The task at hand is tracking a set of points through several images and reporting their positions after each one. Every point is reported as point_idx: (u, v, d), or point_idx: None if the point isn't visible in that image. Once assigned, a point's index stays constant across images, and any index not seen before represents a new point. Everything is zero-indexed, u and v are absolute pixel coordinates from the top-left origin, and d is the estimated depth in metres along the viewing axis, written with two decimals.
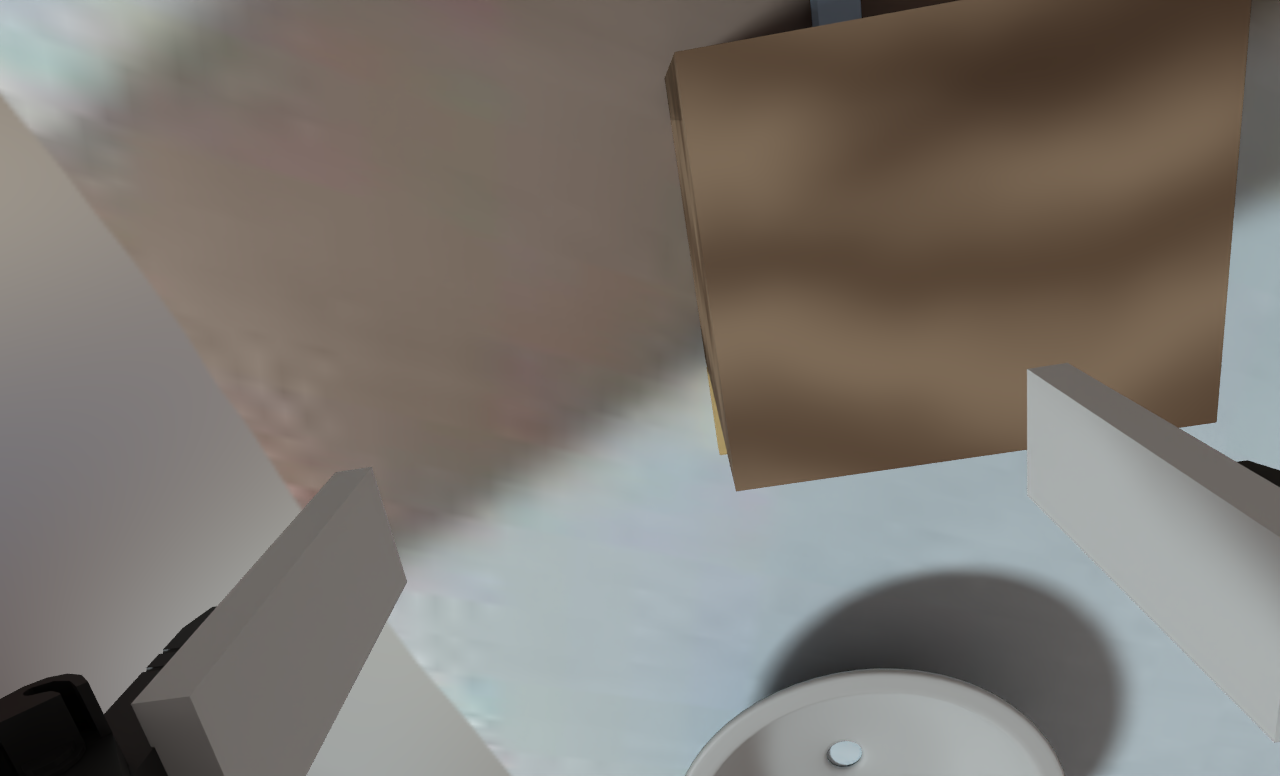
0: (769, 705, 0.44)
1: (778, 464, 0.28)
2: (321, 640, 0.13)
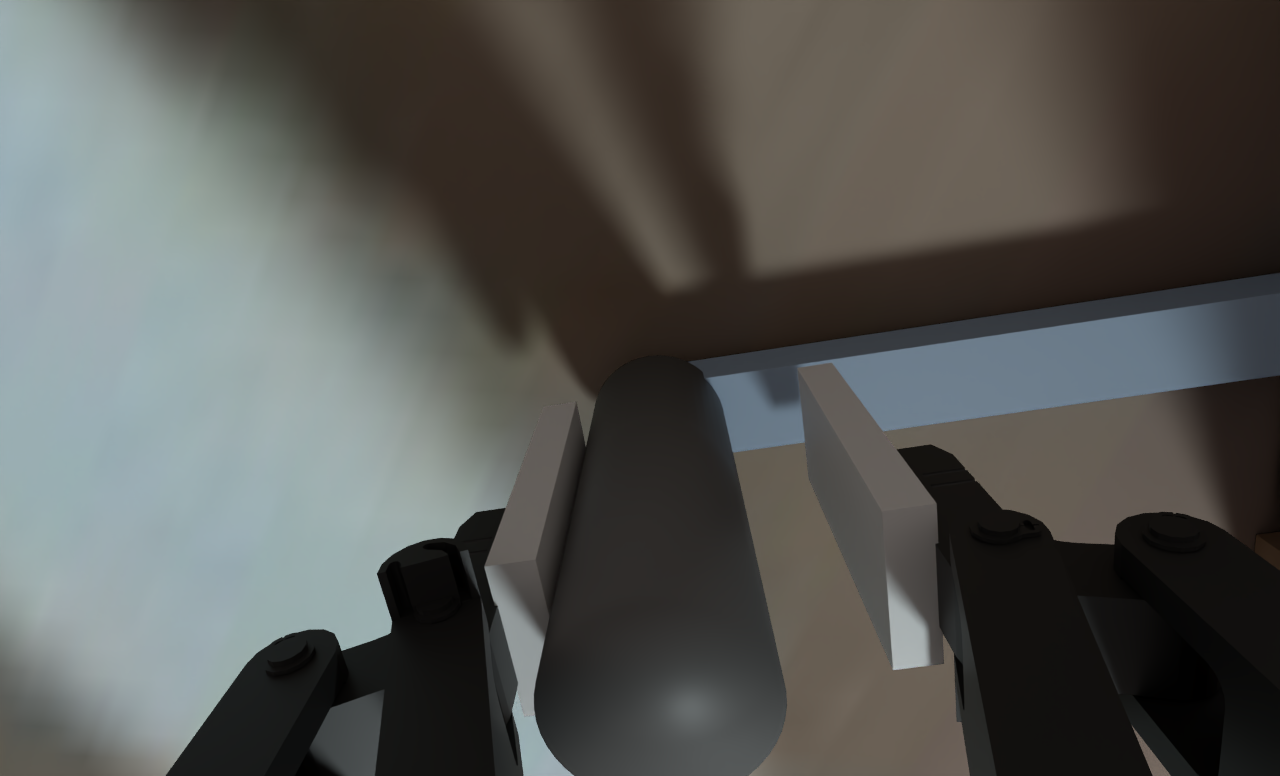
0: None
1: None
2: None
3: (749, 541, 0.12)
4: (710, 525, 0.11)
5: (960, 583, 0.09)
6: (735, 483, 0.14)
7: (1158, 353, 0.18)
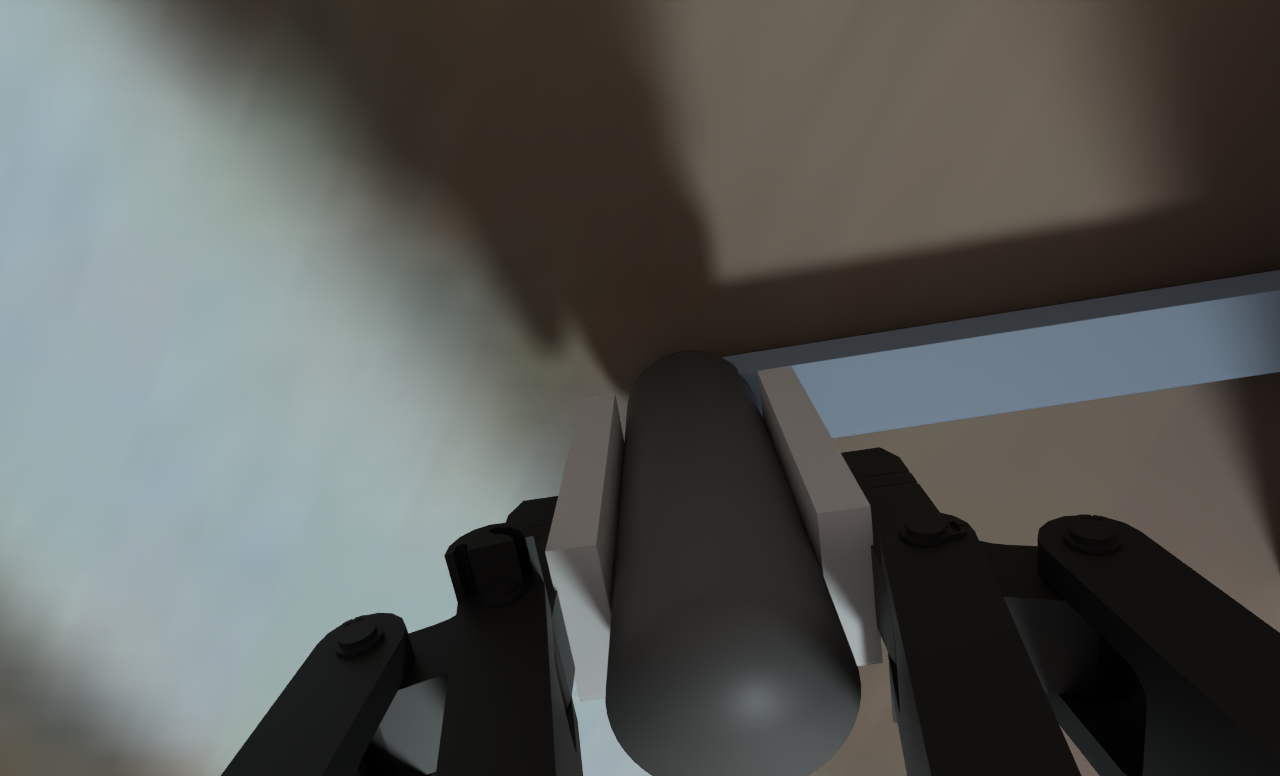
0: None
1: None
2: None
3: (806, 534, 0.12)
4: (773, 517, 0.11)
5: (891, 586, 0.09)
6: (784, 477, 0.14)
7: (1192, 345, 0.18)
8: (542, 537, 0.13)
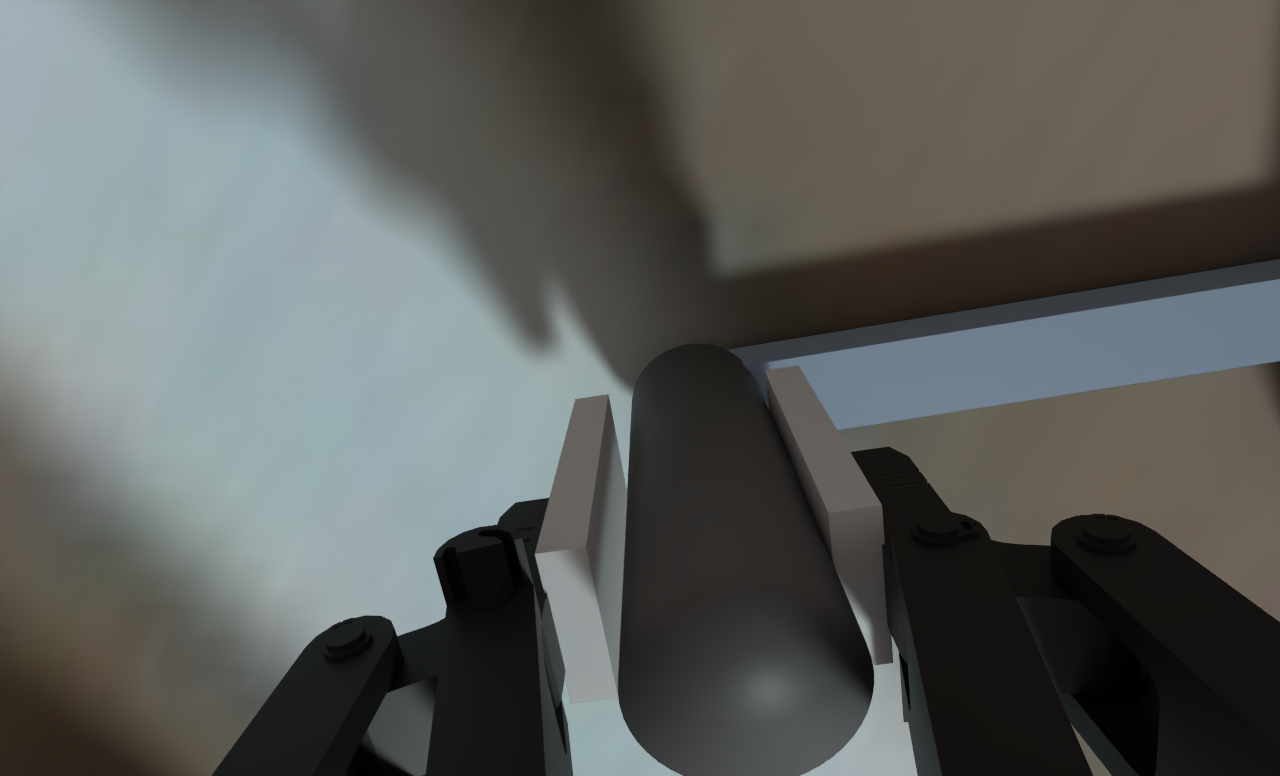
0: None
1: None
2: (612, 531, 0.14)
3: (815, 523, 0.12)
4: (782, 507, 0.11)
5: (903, 585, 0.09)
6: (792, 467, 0.14)
7: (1197, 334, 0.18)
8: (533, 539, 0.13)
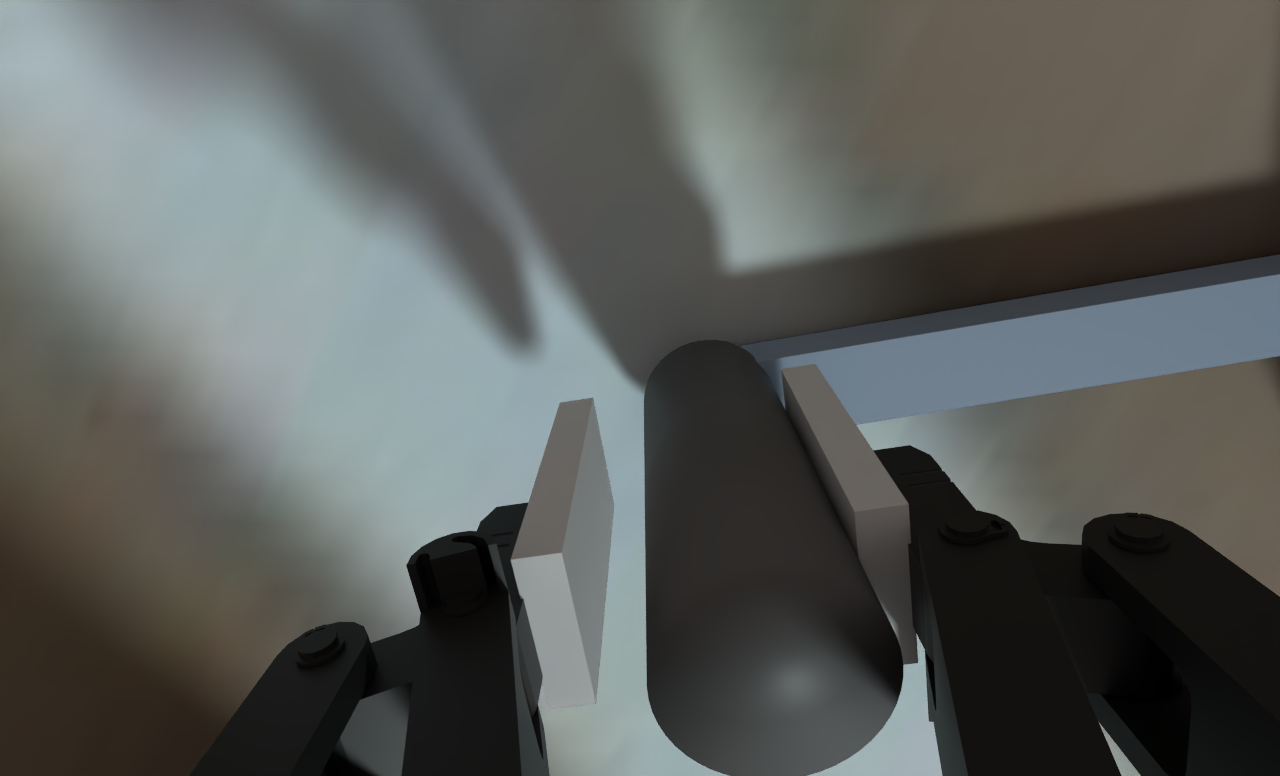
0: None
1: None
2: (593, 536, 0.14)
3: (837, 517, 0.12)
4: (806, 500, 0.11)
5: (930, 584, 0.09)
6: (810, 462, 0.14)
7: (1208, 328, 0.18)
8: (512, 544, 0.13)
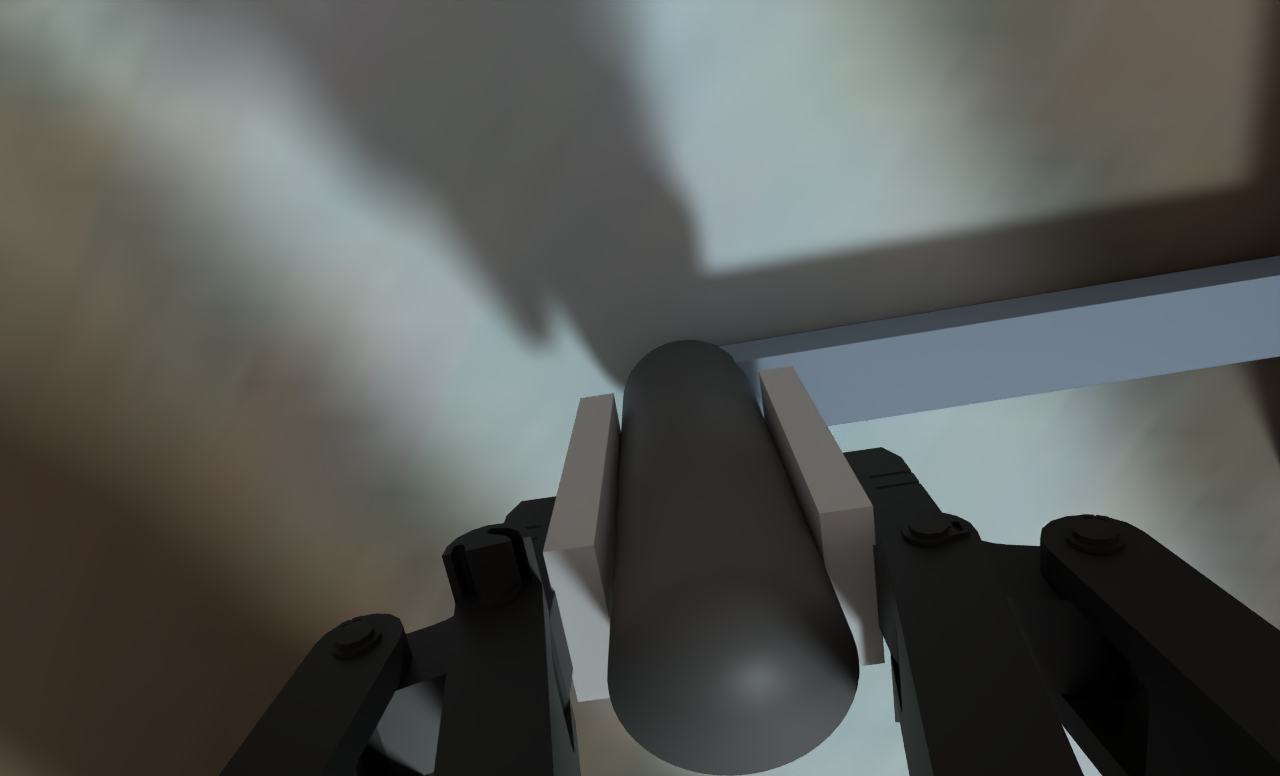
0: None
1: None
2: None
3: (804, 517, 0.12)
4: (771, 500, 0.11)
5: (894, 586, 0.09)
6: (781, 462, 0.14)
7: (1181, 332, 0.18)
8: (540, 537, 0.13)
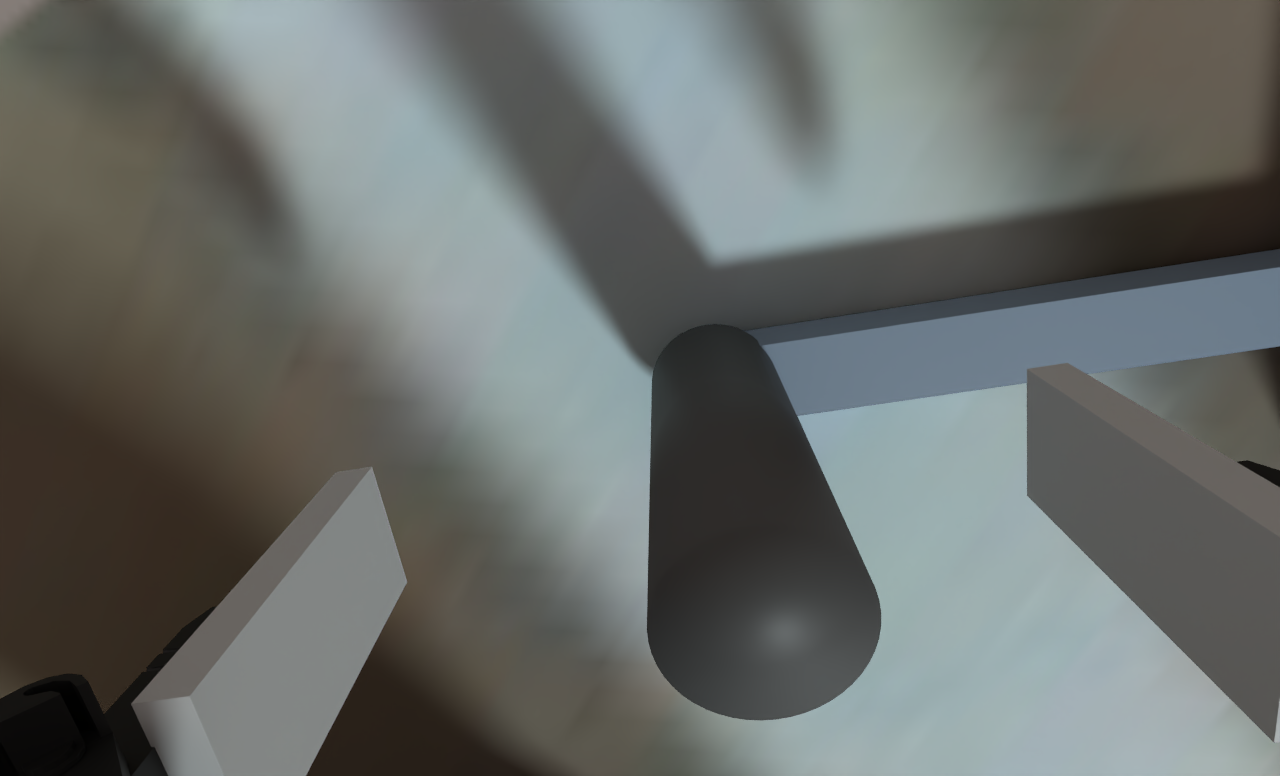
0: None
1: None
2: (321, 640, 0.13)
3: (828, 486, 0.13)
4: (798, 468, 0.12)
5: None
6: (806, 437, 0.15)
7: (1195, 320, 0.19)
8: None
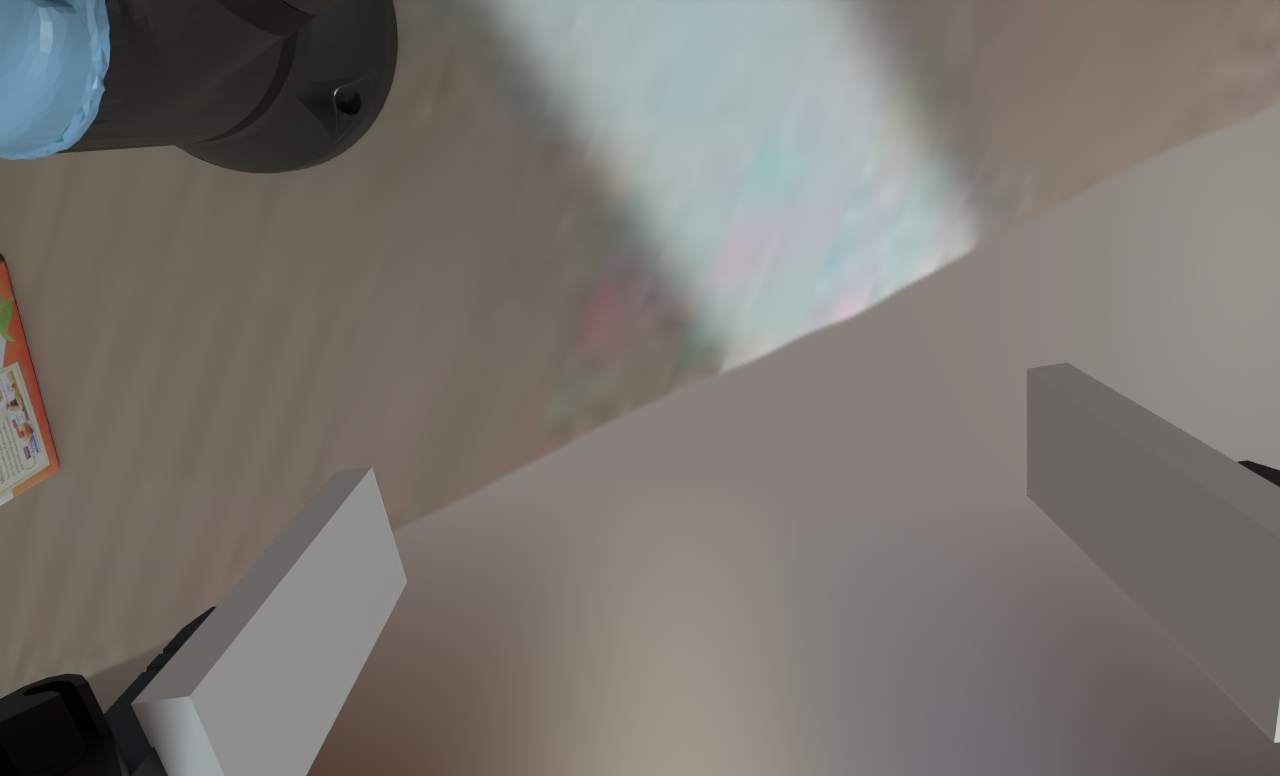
0: None
1: None
2: (321, 640, 0.13)
3: None
4: None
5: None
6: None
7: None
8: None
